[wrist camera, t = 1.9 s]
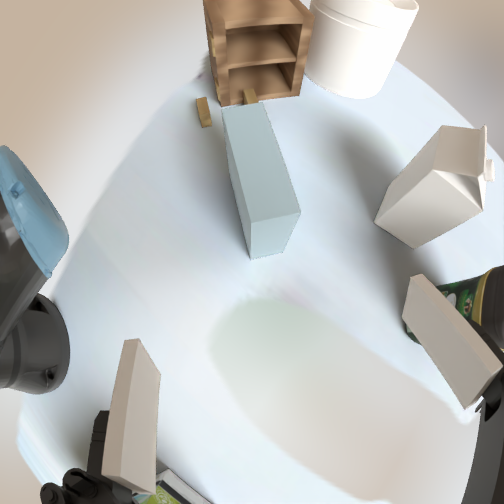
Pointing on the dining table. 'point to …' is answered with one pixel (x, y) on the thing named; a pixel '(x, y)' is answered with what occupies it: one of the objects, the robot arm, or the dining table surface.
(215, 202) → the dining table surface
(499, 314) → the coffee jar
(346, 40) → the canister
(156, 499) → the tea box
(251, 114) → the door
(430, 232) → the milk carton
